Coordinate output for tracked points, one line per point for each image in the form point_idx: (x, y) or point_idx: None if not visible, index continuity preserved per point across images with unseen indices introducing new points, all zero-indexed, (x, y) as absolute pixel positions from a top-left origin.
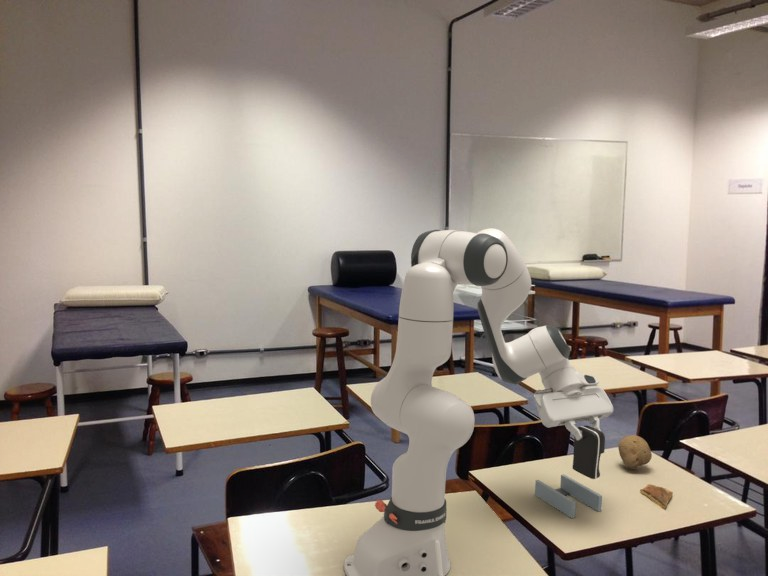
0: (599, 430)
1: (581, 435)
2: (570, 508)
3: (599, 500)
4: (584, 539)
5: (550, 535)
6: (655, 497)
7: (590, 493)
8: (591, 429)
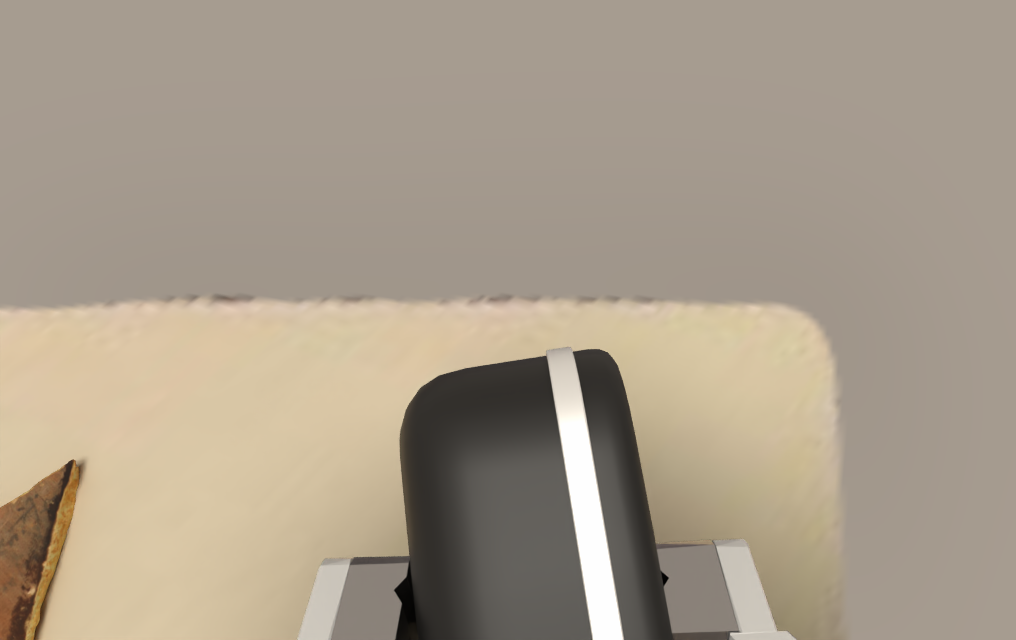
0: (335, 593)
1: (722, 554)
2: None
3: None
4: (670, 366)
5: (813, 457)
6: (31, 558)
7: None
8: (548, 537)
